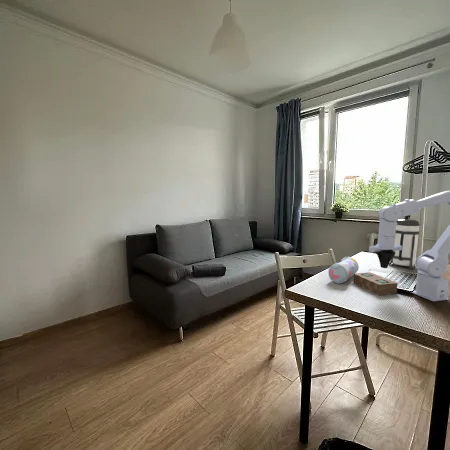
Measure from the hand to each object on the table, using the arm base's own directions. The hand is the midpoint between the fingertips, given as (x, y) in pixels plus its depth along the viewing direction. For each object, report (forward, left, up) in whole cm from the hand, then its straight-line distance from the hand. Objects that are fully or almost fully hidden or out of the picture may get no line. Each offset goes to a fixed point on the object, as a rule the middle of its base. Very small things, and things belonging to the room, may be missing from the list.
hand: (383, 267), depth 100 cm
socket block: (+4, 0, -10) cm, 11 cm away
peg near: (0, 0, -10) cm, 10 cm away
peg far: (+8, 0, -10) cm, 13 cm away
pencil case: (+17, +5, -11) cm, 21 cm away
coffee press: (+27, -42, -11) cm, 51 cm away
